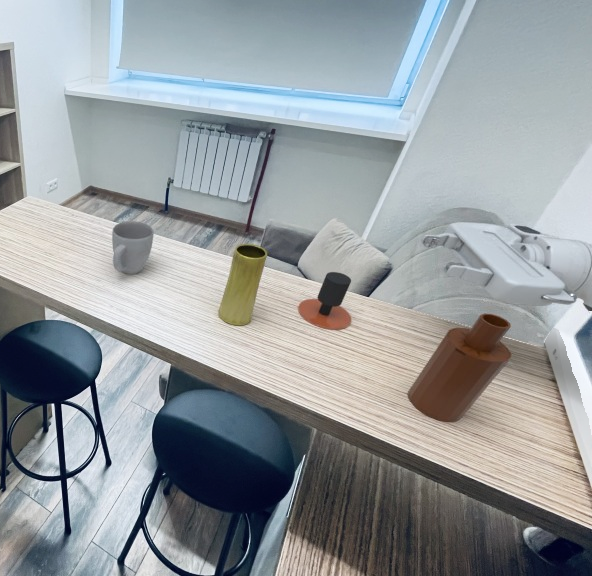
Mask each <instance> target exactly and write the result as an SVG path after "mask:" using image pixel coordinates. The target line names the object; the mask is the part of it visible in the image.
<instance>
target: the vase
mask: <svg viewBox="0 0 592 576" xmlns="http://www.w3.org/2000/svg"><path fill="white" fill-rule="evenodd" d="M267 258H268V251H267V250H266V249H265V248H264V247H262V246H259V245H256V244H252V243H242V244H238V245H236V247H235V248H234V251H233V255H232V259H231V264H230V269H229V273H228V278H227V282H226V284H225V288H224V290H223V295H222V298H221V302H220V305H219V309H218V310H217V313H218V316H219V318H220V319H221V320H222V321H223V322H225V323H227V324H229V325H232V326H245V325H248V324H250V322H251V321H252V319H253V312H254V307H255V303H256V299H257V295H258V290H259V286H260V283H261V282H260V281H261V278H262V275H263V272H264V268H265V264H266V261H267Z"/></svg>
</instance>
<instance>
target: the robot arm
mask: <svg viewBox="0 0 592 576" xmlns="http://www.w3.org/2000/svg"><path fill="white" fill-rule="evenodd" d="M420 243H421V244H422V245H423V247H424V248H430V249H436V248H437V247H442V248H446V249H448V250H449V251H450V252H451V253H452V255H454V257H455V258H456V259H457V260H458V261H459V262H453V261H450V262H447V263H446V266H445V267H444V269H443V271H444V273H445V274H446V275H447V276H448V277H450V278H458V279H461V280H463V281H467V282H469V283H472V284H474V285H477V286H478V285H479V286H481V287H482V288H483V289H484V291H486V292H487V294H488V295H489V296H490V297H491V298H492V299H493V300H495V301H497V302H500V303H503V304H506V305H518V306H529V307H531V306H532V307H548V306H550V305H552V304H558V305H567V306H568V305H572V304H575V303H576V302H577V299H580V300H582V301H583V302H582V304H583V306H584V308H585V309H586V310H587V311H588V312H589V311H592V243H588V242H586V241H582V240H577V239H569V238H561V237H559V236H556V235H550V234H546V233H543V232H540V231H539V230H536V229H533V228H531V227H528V226H526V225H524V224H520V223H509V224H508V225H507V226H503V225H500V224H495V223H483V222H469V221H468V222H466V221H456V222H452V223H449V224H448V225H447V227H446V229H445V230H444V232H443V233H440V234H424V235H423V237H422V239H421V240H420Z"/></svg>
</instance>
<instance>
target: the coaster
mask: <svg viewBox="0 0 592 576" xmlns="http://www.w3.org/2000/svg"><path fill="white" fill-rule="evenodd" d="M321 305H322V303H321V302H320V301H319V300H318V298H308V299H304V300H302V301H301V302H299V305H298V308H297V310H298V314H299V316H301V317H302V319H304V320H305V321H306V322H308V323H309V324H311V325H313V326H315V327H318V328H321V329H324V330H331V331H332V330H333V331H334V330H335V331H336V330H337V331H338V330H344V329H346V328H348V327H349V326H350V325H351V323H352V317H351V314H350V313H349V312H348V310H346V309H345V308H344V307H342V305H340V306H336V307H332V309H331V311H330V314H329V315H327V316H325V315H322V314H320V313H319V310H320V307H321Z"/></svg>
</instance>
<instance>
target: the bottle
mask: <svg viewBox="0 0 592 576" xmlns="http://www.w3.org/2000/svg"><path fill="white" fill-rule="evenodd" d="M511 327H512V326H511V322H509V320H507V319H505V318H503V317H502V316H499V315H496V314H493V313H481V314H480V315H479V316H478V317H477V319H476V320H475V322H474V323H473V324H472V326H471V327H470V328H467V327H454V328H451V329H449V330H448V331H447V332H446V334H445V335H444V337H443V338H442V340H441V341H440V342H439V344H438V346H437V347H436V349H435V350H434V352H433V353H432V354H431V356H430V357H429V359H428V361H427V362H426V364H425V365H424V366H423V368H422V370H421V371H420V373H419V374H418V375H417V377H416V379H415V381H414V382H413V384H411V387H410V388H409V390H408V392H407V397H408V400H409V402H410V403H411V404H412V406H413V407H414V408H416V410H418V411H419V412H421V414H424V415H425V416H426V417H427V416H428V417H429V418H432V419H434V420H436V421H440V422H444V423H454V422H458V421H459V420H460V419H462V418H463V417H464V416H465V415H466V413H467V412H469V410H470V408H471V407H472V406H474V404H475V402H477V400H478V399H479V398H480V396H481V395H482V394H483V393H484V392H485V390H486V389H487V388H488V386H490V384H491V383H492V382H493V381H494V379H496V377H497V376H498V375H499V373H500V372H501V371H502V369H503V368H504V367H505V366H506V365H507V363H509V361H510V360H511V358H512V353H511V351H510V350H509V348H508V347H507V346H506V345H505V344H504V343H503V342H502V341H501V340H502V339H503V338H504V336H505V335H506V334H507V333H508V331H509V330H510V329H511Z"/></svg>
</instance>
